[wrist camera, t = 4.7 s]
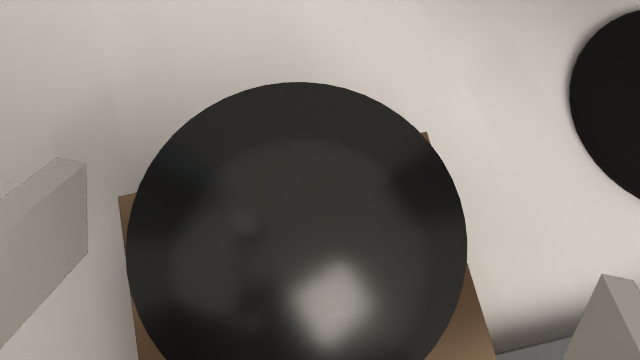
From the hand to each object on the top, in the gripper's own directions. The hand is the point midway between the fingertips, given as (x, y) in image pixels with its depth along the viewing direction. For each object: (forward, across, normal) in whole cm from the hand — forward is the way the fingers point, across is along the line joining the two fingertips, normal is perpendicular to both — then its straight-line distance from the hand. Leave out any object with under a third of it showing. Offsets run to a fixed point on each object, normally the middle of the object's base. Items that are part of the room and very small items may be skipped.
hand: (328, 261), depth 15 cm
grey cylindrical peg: (+5, 0, -7) cm, 9 cm away
